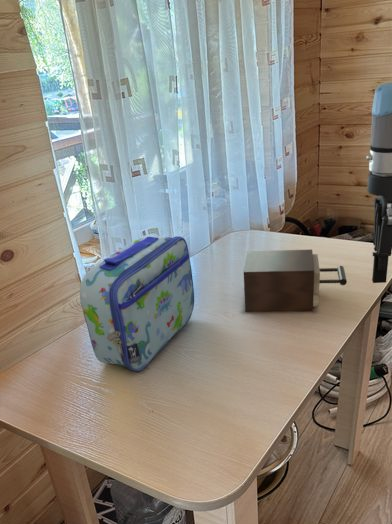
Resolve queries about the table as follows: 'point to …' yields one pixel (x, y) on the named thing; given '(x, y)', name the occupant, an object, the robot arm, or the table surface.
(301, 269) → the cabinet
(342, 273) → the drawer
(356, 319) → the table surface
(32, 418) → the table surface
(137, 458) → the table surface
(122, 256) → the lunch box
